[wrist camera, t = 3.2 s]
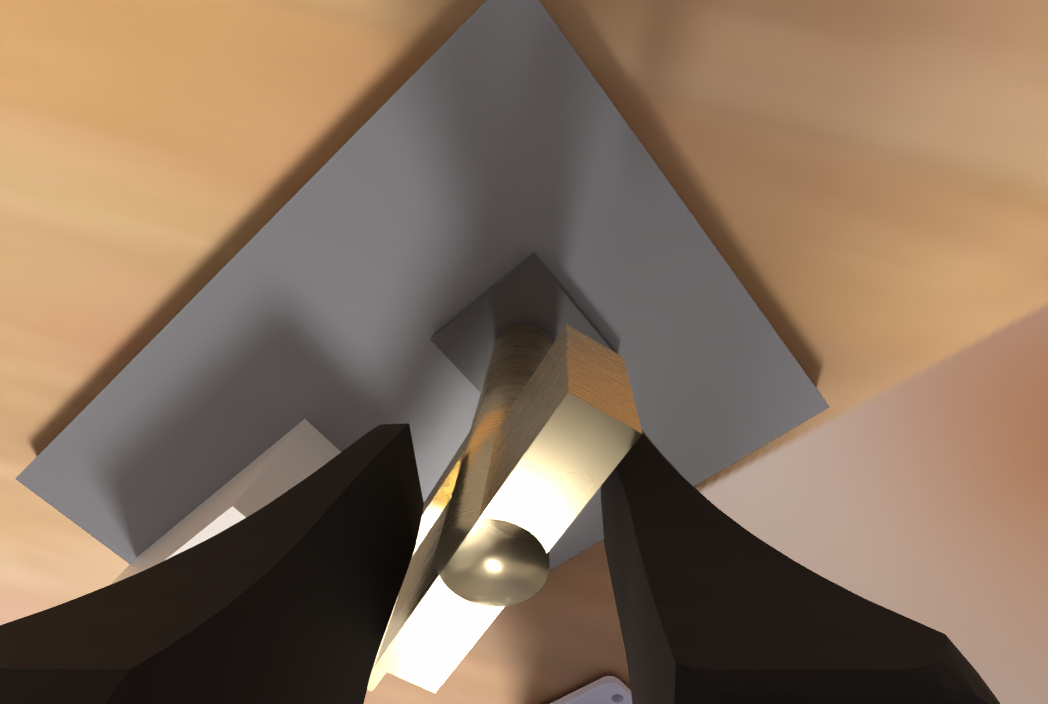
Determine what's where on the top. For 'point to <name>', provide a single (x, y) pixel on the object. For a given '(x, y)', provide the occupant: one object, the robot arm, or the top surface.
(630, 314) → the plate
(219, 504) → the cover
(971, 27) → the top surface
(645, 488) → the robot arm
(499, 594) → the t key
